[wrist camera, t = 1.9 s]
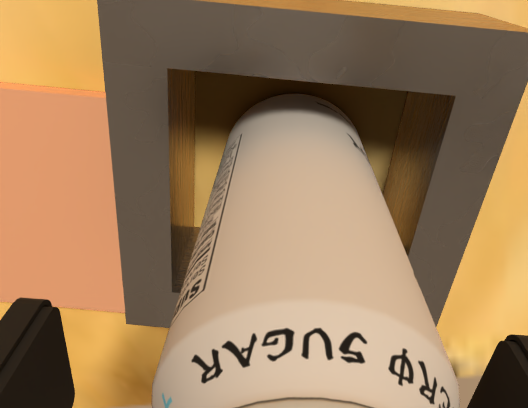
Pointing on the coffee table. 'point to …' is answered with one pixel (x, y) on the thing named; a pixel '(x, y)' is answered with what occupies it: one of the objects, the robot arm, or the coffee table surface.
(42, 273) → the terracotta tile
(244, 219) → the energy drink can
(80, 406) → the coffee table surface
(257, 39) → the frame
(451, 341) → the coffee table surface
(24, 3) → the coffee table surface
